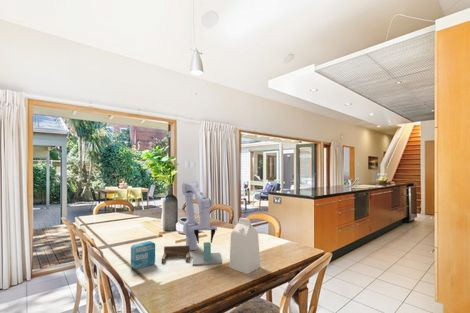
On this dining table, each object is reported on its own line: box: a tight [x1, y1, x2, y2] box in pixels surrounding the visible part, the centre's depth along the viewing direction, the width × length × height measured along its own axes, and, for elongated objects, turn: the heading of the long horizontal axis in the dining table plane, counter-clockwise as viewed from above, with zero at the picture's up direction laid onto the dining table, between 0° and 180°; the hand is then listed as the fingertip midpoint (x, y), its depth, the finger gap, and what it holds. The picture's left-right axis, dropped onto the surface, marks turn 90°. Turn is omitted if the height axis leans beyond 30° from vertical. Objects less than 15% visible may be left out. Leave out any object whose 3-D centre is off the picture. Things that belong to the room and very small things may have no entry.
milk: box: [229, 217, 261, 275], centre depth 133 cm, size 12×12×26 cm
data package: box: [130, 240, 156, 270], centre depth 136 cm, size 12×4×12 cm, turn 134°
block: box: [203, 241, 212, 260], centre depth 145 cm, size 6×4×8 cm, turn 8°
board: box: [192, 252, 222, 267], centre depth 144 cm, size 16×16×1 cm
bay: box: [161, 244, 191, 264], centre depth 145 cm, size 10×15×6 cm
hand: (204, 242), depth 146 cm, fingers open, 7 cm apart
